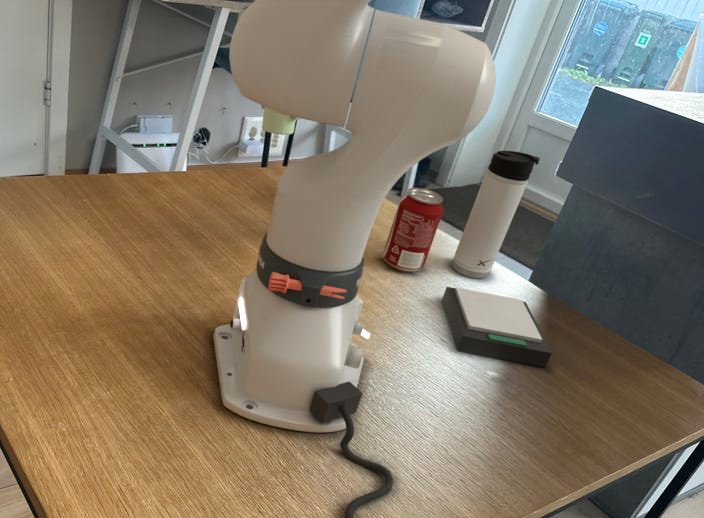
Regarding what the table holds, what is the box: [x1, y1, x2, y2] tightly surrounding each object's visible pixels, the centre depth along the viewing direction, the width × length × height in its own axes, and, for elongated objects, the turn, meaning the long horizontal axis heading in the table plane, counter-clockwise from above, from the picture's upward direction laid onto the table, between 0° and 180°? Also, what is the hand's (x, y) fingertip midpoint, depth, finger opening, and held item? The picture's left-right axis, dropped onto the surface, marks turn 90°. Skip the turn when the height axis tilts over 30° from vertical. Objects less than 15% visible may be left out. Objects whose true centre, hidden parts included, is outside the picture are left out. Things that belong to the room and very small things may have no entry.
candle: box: [261, 107, 297, 136], centre depth 107 cm, size 5×5×8 cm
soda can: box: [382, 187, 444, 273], centre depth 111 cm, size 7×7×12 cm
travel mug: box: [451, 150, 540, 279], centre depth 111 cm, size 6×7×20 cm
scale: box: [441, 286, 553, 368], centre depth 100 cm, size 14×12×3 cm
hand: (281, 114), depth 108 cm, fingers closed on candle, 3 cm apart
